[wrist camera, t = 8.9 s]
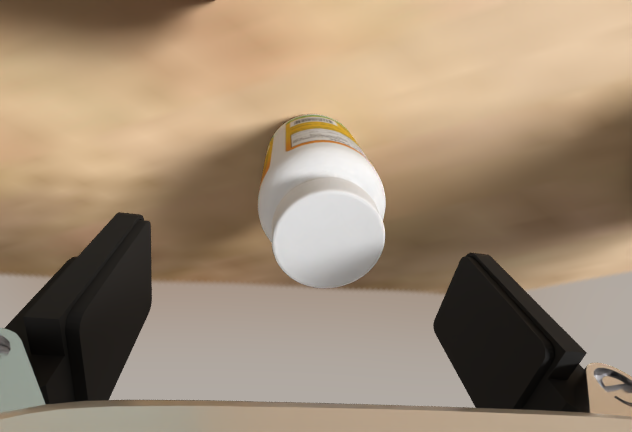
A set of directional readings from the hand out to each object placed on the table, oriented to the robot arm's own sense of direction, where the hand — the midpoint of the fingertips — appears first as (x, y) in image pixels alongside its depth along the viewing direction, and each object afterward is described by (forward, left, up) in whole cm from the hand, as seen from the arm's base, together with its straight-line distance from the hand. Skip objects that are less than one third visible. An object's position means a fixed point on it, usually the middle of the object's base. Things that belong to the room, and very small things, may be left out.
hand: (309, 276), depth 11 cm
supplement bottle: (-1, 0, -12) cm, 12 cm away
